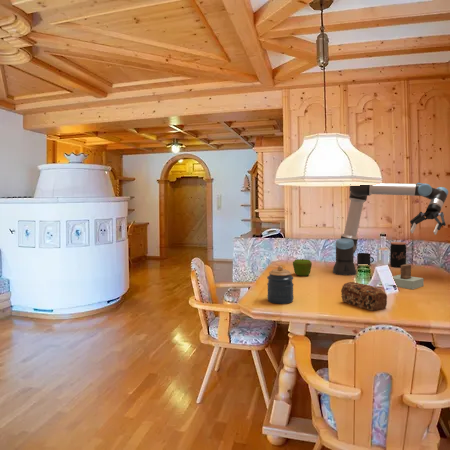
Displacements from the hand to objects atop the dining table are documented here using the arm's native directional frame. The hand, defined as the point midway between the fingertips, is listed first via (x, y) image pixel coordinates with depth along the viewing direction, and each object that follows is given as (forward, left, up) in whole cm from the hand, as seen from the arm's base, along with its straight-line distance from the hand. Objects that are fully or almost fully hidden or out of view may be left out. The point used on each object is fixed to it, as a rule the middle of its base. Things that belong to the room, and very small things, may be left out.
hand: (422, 232), depth 217 cm
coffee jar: (-34, +36, -30) cm, 58 cm away
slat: (0, -20, -30) cm, 36 cm away
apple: (-58, -43, -30) cm, 78 cm away
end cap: (0, -20, -30) cm, 36 cm away
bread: (+7, -74, -30) cm, 80 cm away
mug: (-52, +22, -30) cm, 64 cm away
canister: (-23, -99, -30) cm, 106 cm away
